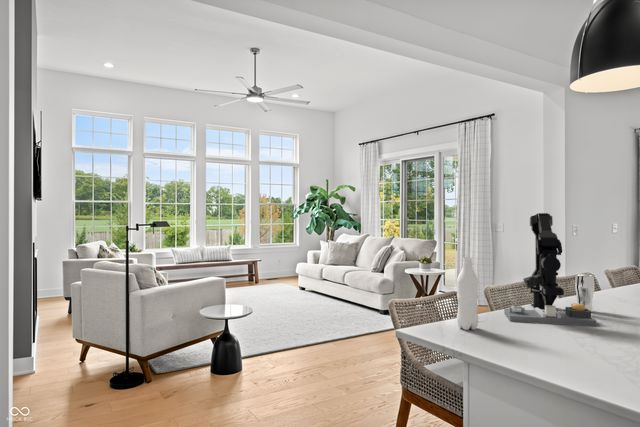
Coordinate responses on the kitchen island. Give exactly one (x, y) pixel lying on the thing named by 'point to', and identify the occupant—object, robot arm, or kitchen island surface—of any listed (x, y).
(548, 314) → the cream rectangular brick
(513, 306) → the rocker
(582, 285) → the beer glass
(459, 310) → the water bottle
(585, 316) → the panel
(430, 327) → the kitchen island surface
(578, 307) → the button
